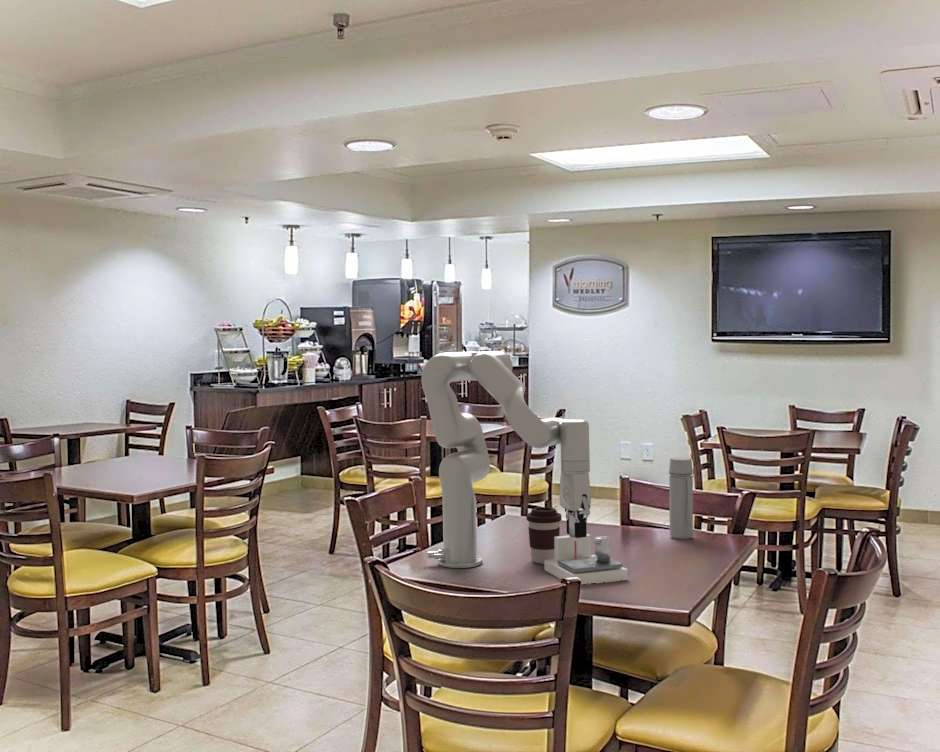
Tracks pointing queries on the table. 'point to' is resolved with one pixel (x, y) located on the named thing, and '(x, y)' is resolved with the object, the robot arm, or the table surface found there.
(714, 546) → the table surface
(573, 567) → the grey flat plate
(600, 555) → the glass jar
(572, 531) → the spacer
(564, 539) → the scale body
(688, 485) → the water bottle
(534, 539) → the coffee cup
